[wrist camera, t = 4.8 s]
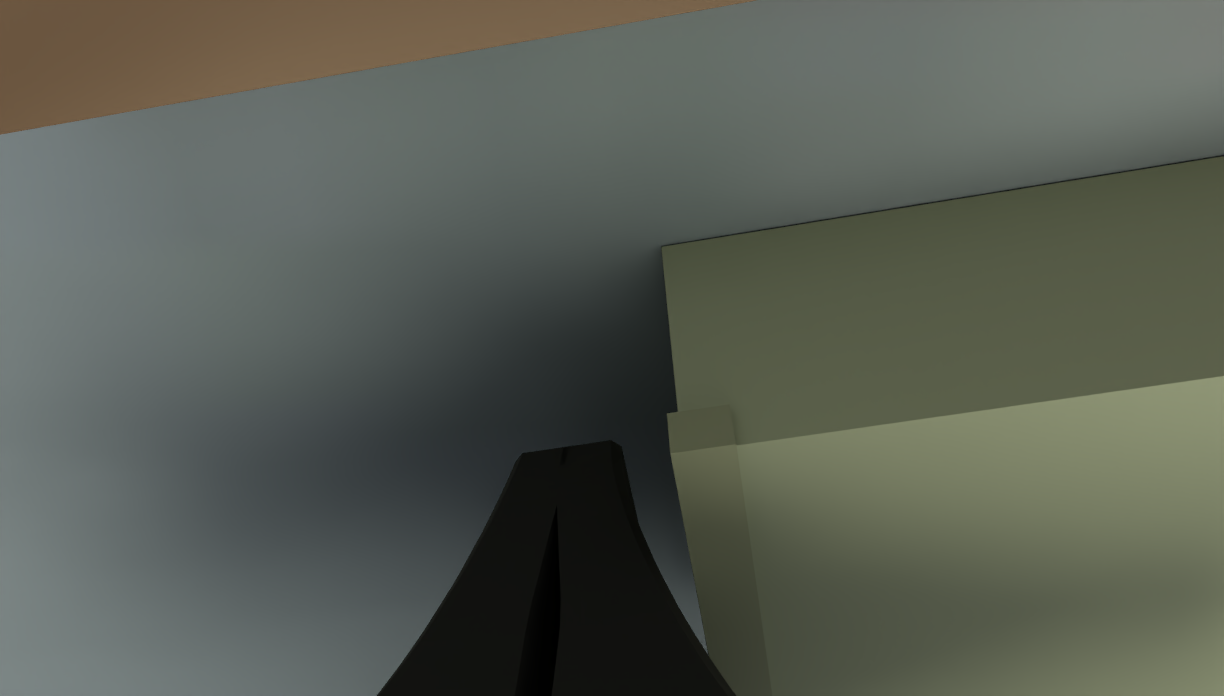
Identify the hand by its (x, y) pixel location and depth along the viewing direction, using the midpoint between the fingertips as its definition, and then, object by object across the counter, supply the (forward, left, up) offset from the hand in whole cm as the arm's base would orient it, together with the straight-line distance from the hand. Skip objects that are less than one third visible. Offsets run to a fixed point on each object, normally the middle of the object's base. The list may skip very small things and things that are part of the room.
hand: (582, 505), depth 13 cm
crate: (0, -5, -1) cm, 5 cm away
